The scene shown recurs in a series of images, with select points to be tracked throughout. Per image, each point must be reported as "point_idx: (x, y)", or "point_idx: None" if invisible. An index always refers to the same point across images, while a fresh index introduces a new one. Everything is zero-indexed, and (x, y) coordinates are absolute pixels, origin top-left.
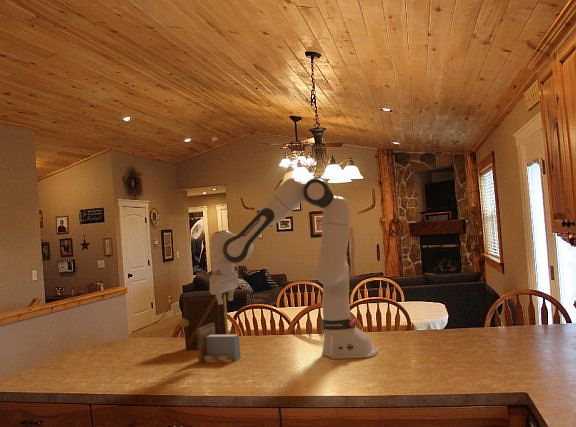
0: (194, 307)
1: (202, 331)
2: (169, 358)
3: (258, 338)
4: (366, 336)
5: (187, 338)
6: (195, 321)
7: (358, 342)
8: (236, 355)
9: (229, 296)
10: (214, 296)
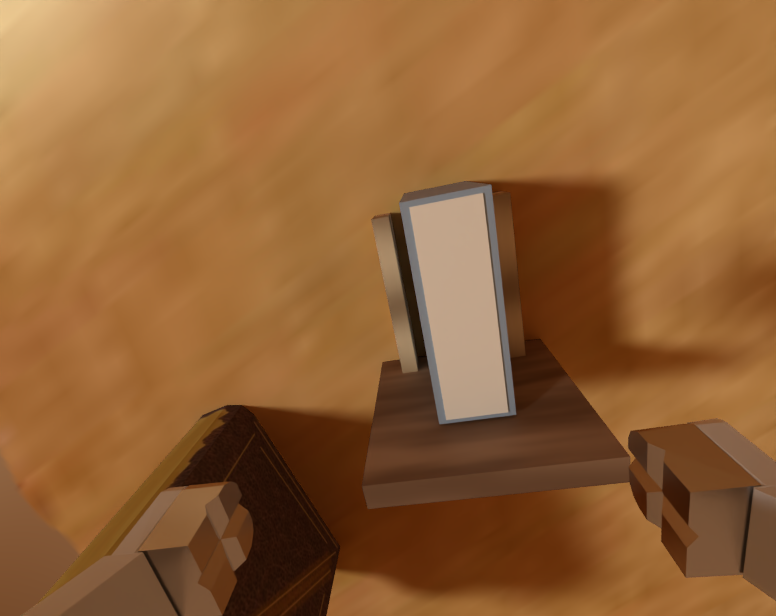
0: None
1: (570, 442)
2: (478, 534)
3: (12, 363)
4: None
5: (324, 595)
6: None
7: None
8: (454, 184)
9: (173, 601)
10: None
